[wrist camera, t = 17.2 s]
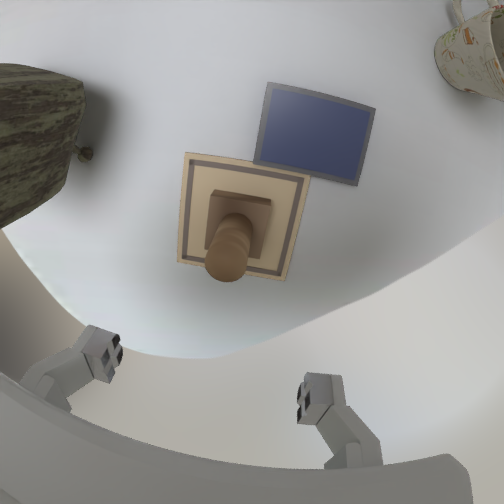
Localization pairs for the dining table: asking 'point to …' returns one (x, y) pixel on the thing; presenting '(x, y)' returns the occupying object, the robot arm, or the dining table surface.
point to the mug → (474, 52)
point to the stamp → (234, 233)
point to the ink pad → (313, 133)
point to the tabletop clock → (36, 136)
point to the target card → (250, 183)
